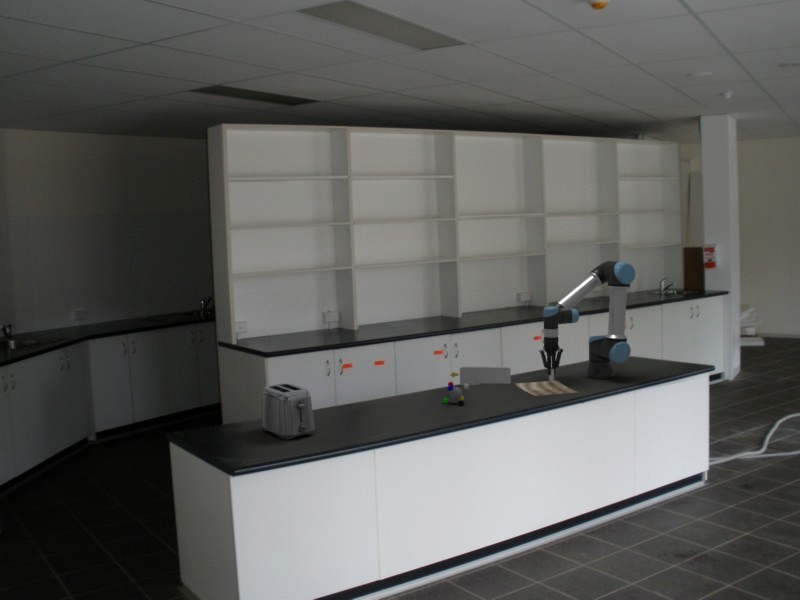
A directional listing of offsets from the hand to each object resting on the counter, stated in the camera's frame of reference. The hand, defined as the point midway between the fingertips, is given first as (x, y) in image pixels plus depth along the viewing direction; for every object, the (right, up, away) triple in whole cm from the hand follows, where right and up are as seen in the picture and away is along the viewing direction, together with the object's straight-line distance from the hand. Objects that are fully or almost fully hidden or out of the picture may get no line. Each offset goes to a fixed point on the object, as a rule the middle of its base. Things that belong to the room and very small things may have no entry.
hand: (551, 380), depth 400 cm
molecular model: (-52, -8, -30) cm, 61 cm away
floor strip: (-3, -5, -15) cm, 16 cm away
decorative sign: (-36, -4, +11) cm, 38 cm away
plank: (-6, -3, -3) cm, 7 cm away
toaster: (-128, -14, -75) cm, 149 cm away
